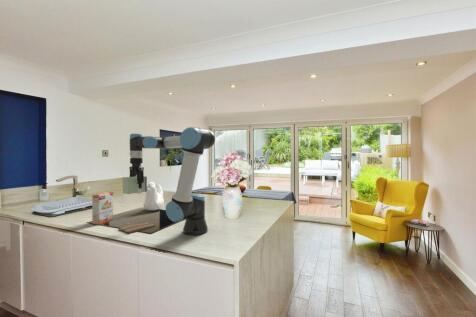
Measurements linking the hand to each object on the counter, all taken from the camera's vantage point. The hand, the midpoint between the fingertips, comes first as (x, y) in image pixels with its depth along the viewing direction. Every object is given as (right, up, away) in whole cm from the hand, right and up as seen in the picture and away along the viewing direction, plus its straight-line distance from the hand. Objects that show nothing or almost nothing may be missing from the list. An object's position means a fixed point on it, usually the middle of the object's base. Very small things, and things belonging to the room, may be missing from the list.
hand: (136, 192), depth 157 cm
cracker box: (-30, -23, +15) cm, 41 cm away
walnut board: (0, -23, 0) cm, 23 cm away
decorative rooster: (-5, -22, +54) cm, 59 cm away
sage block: (-5, +5, -6) cm, 9 cm away
